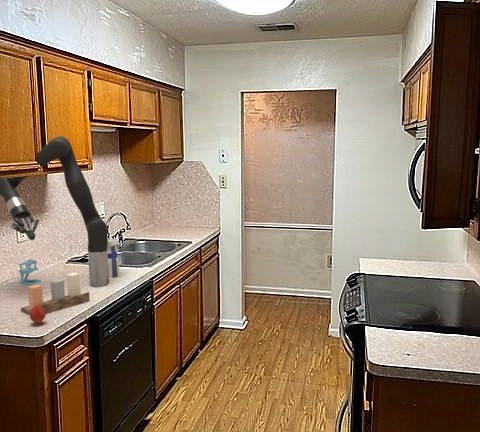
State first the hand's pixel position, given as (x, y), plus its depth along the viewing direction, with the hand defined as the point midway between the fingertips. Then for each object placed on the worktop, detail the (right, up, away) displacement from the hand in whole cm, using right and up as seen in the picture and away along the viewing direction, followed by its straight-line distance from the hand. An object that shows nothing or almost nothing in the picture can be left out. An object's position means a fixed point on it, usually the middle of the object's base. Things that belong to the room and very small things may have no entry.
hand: (33, 238), depth 221 cm
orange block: (+8, -29, -15) cm, 33 cm away
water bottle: (+25, -22, +40) cm, 52 cm away
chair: (-14, -24, +28) cm, 39 cm away
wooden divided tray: (+13, -29, -6) cm, 32 cm away
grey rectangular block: (+14, -28, -7) cm, 32 cm away
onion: (+13, -33, -26) cm, 44 cm away
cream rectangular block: (+18, -26, +3) cm, 31 cm away
